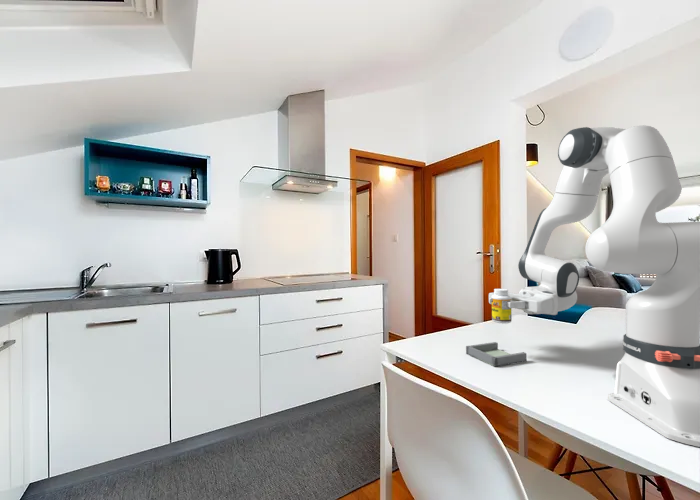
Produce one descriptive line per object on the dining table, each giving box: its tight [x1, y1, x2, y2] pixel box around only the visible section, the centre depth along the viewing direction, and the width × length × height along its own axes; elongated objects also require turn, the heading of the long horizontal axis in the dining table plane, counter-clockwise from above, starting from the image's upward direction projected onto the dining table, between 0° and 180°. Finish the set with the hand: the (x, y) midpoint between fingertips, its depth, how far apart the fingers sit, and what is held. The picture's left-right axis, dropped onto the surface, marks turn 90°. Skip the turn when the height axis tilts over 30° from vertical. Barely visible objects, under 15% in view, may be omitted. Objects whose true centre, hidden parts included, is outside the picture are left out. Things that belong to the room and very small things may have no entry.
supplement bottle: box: [491, 288, 513, 325], centre depth 97 cm, size 6×6×10 cm
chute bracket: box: [465, 341, 527, 368], centre depth 96 cm, size 12×12×2 cm
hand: (499, 303), depth 96 cm, fingers closed on supplement bottle, 6 cm apart
